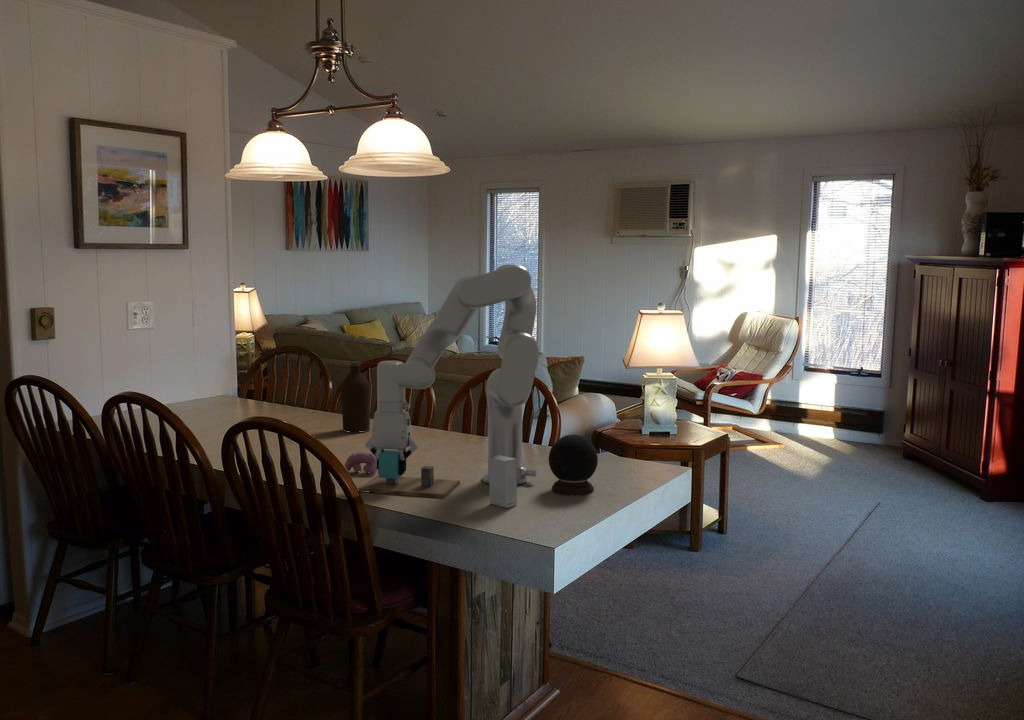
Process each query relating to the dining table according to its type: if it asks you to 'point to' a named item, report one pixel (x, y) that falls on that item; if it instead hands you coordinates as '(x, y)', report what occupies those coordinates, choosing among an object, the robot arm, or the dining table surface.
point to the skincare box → (502, 481)
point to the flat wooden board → (413, 485)
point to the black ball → (573, 465)
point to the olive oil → (355, 400)
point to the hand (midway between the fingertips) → (391, 472)
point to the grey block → (392, 481)
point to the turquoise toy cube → (389, 464)
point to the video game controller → (362, 458)
